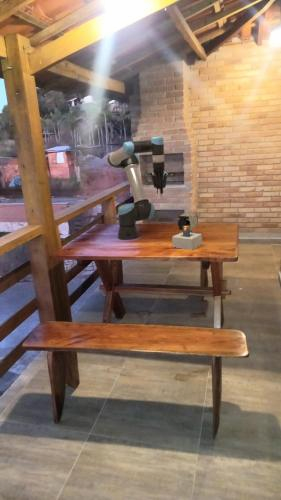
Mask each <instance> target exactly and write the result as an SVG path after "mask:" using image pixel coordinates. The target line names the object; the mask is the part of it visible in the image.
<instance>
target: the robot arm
mask: <svg viewBox="0 0 281 500" xmlns="http://www.w3.org/2000/svg"><path fill="white" fill-rule="evenodd" d="M122 144H123V145H122V147H121V148H119V149H118V150H116V151H115V150H114V151H112V152H110V153H109V154H108V155H107V163H108V164H109V166H110V167H112V168H115V169H120V168H121V169H122V170H123V172H124V173H126V176H127V180H128V184H129V187H130V190H131V193H132V197H133V200H134V202H133V203H125V204H122V205H120V206H119V207H118V208H117V209H118V211H117V215H118V225H119V227H118V231H117V239H119V240H123V241H124V240H125V241H126V240H134V239H137V238H139V237H140V234H139V232H138V231H139V230H138V229H137V226H136V225H137V223H136V222H139V221H140V222H141V221H145V220H146V221H147V220H150V219H152V218H154V216H155V213H156V212H155V209H156V208H155V205H154V203H153V202H150V200H149V199H148V198H147V196H146V194H145V191H144V187H143V183H142V180H141V177H140V174H139V173H140V172H139V170H138V168H139V165H140V163H141V162H140V157H139V154H144V153H145V154H146V153H151V155H152V168H153V170H152V172H150V173H149V174H150V177H151V180H152V183H153V184H152V185H153V188H154V189H156V193H157V199H158V200H162V199H163V194H164V189H165V188H166V187H167V180H168V176H169V173H168V172H166V170H165V169H166V168H165V167H166V165H165V146H164V144H165V143H164V137H163V136H152V137H151V139H146V140H135V141H126V142H124V143H122Z"/></svg>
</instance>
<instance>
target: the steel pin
mask: <svg viewBox="0 0 281 500" xmlns="http://www.w3.org/2000/svg"><path fill="white" fill-rule="evenodd" d="M182 232H183V237H190V226H189V225H184V226H183V230H182Z"/></svg>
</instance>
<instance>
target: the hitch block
mask: <svg viewBox="0 0 281 500" xmlns="http://www.w3.org/2000/svg"><path fill="white" fill-rule="evenodd" d="M171 237H172V238H171V239H172V248H175V247H176V249H181V248H182V249H183V250H189V251H193V250H194V249H196V248H197V249H198V247H200V246H202V245H203V235H202V233H196V232H195V233H190V237H183V231H182V232H179V233H177V234H175V235H173V236H171Z"/></svg>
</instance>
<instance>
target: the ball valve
mask: <svg viewBox="0 0 281 500" xmlns="http://www.w3.org/2000/svg"><path fill="white" fill-rule="evenodd" d="M198 218H199V216H198V215H197V212H195V211H194V212H193V211H186V212H184V213H182V214H181V215H178V221H177V226H178V230H179V231H183V226H184V225H189V226H190V233H196V231H194V230H193V229H194V228H195V227H197V225H198V224H199V219H198Z"/></svg>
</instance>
